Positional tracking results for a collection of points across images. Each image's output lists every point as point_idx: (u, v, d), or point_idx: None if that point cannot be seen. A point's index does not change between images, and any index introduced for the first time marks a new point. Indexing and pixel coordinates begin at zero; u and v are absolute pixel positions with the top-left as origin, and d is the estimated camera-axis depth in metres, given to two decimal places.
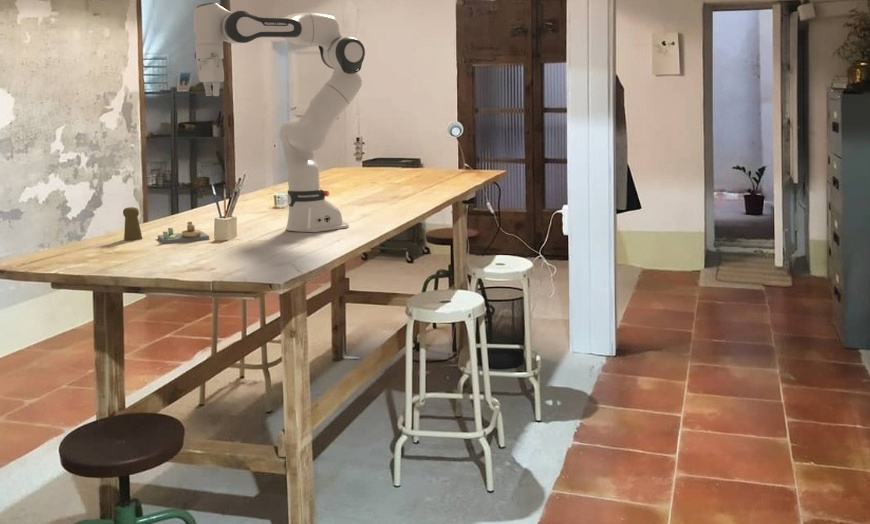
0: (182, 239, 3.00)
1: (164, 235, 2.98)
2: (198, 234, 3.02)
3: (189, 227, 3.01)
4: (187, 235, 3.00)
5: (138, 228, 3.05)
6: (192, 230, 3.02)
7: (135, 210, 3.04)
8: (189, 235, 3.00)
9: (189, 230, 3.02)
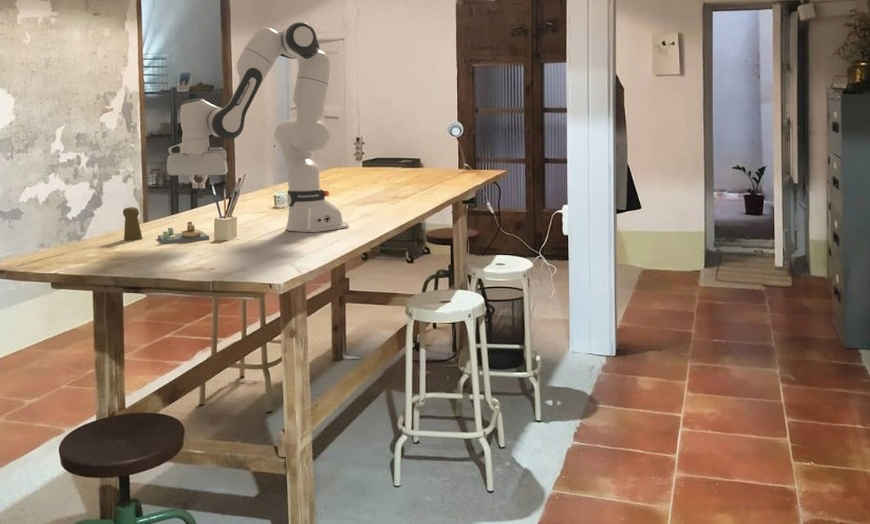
0: (182, 239, 3.00)
1: (164, 235, 2.98)
2: (198, 234, 3.02)
3: (189, 227, 3.01)
4: (187, 235, 3.00)
5: (138, 228, 3.05)
6: (192, 230, 3.02)
7: (135, 210, 3.04)
8: (189, 235, 3.00)
9: (189, 230, 3.02)
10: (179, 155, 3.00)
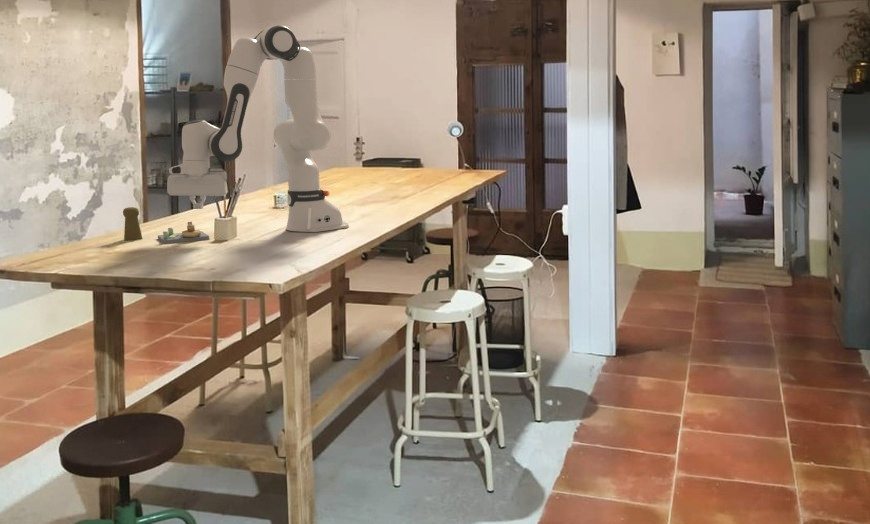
0: (182, 239, 3.00)
1: (164, 235, 2.98)
2: (198, 234, 3.02)
3: (189, 227, 3.01)
4: (187, 235, 3.00)
5: (138, 228, 3.05)
6: (192, 230, 3.02)
7: (135, 210, 3.04)
8: (189, 235, 3.00)
9: (189, 230, 3.02)
10: (179, 175, 3.01)
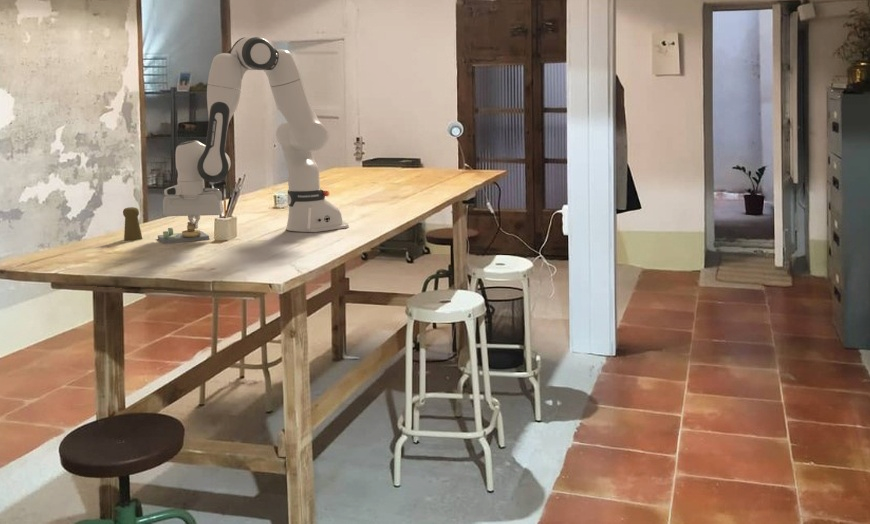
0: (182, 239, 3.00)
1: (164, 235, 2.98)
2: (198, 234, 3.02)
3: (189, 227, 3.01)
4: (187, 235, 3.00)
5: (138, 228, 3.05)
6: (192, 230, 3.02)
7: (135, 210, 3.04)
8: (189, 235, 3.00)
9: (189, 230, 3.02)
10: (175, 196, 3.03)
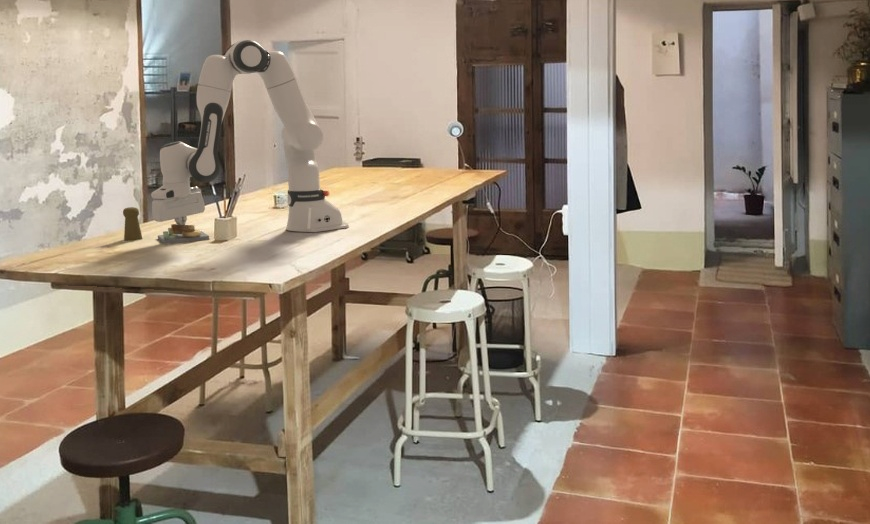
0: (182, 239, 3.00)
1: (164, 235, 2.98)
2: None
3: (192, 227, 3.02)
4: (196, 234, 3.01)
5: (138, 228, 3.05)
6: (194, 229, 3.03)
7: (135, 210, 3.04)
8: (197, 234, 3.02)
9: (192, 230, 3.02)
10: (172, 199, 2.98)
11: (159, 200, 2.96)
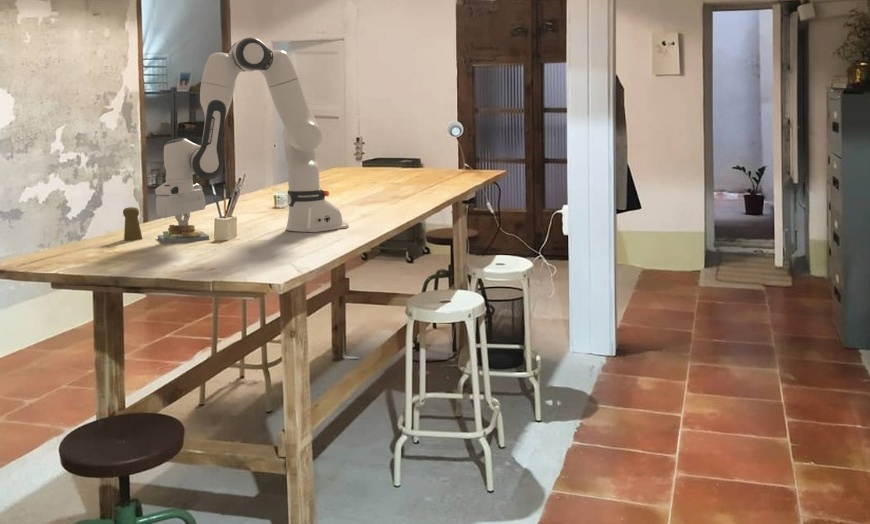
0: (182, 239, 3.00)
1: (164, 235, 2.98)
2: None
3: (193, 227, 3.02)
4: (197, 234, 3.02)
5: (138, 228, 3.05)
6: (194, 229, 3.03)
7: (135, 210, 3.04)
8: (199, 234, 3.02)
9: (193, 230, 3.02)
10: (176, 195, 2.98)
11: (164, 196, 2.96)
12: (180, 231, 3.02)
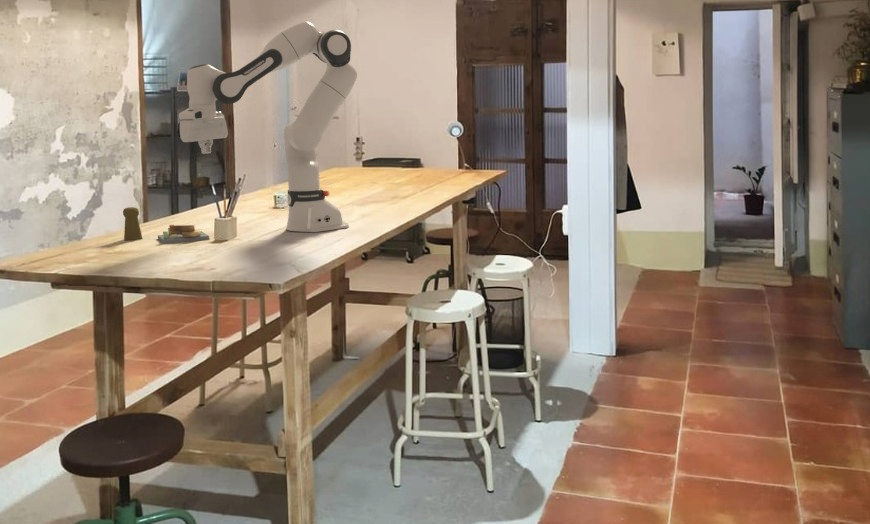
0: (182, 239, 3.00)
1: (164, 235, 2.98)
2: None
3: (193, 227, 3.02)
4: (197, 234, 3.02)
5: (138, 228, 3.05)
6: (194, 229, 3.03)
7: (135, 210, 3.04)
8: (199, 234, 3.02)
9: (193, 230, 3.02)
10: (199, 120, 3.01)
11: (187, 120, 2.98)
12: (180, 231, 3.02)
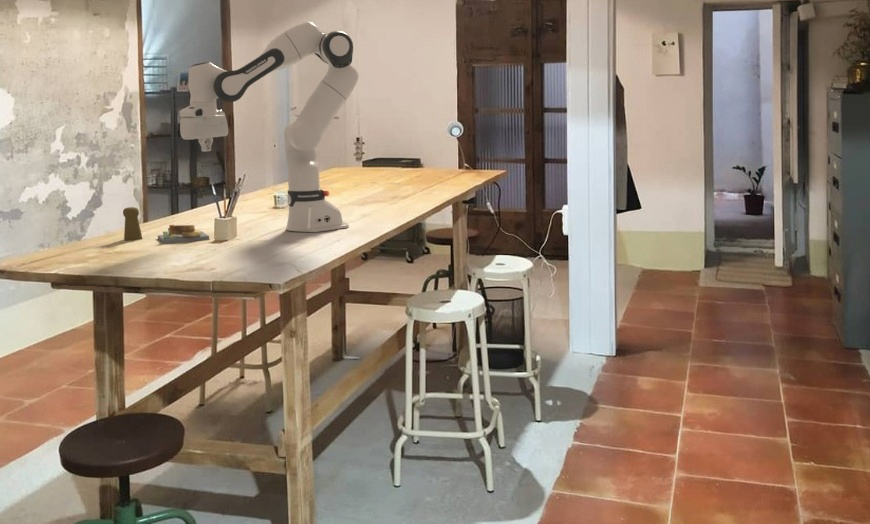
0: (182, 239, 3.00)
1: (164, 235, 2.98)
2: None
3: (193, 227, 3.02)
4: (197, 234, 3.02)
5: (138, 228, 3.05)
6: (194, 229, 3.03)
7: (135, 210, 3.04)
8: (199, 234, 3.02)
9: (193, 230, 3.02)
10: (200, 118, 3.01)
11: (188, 118, 2.98)
12: (180, 231, 3.02)
